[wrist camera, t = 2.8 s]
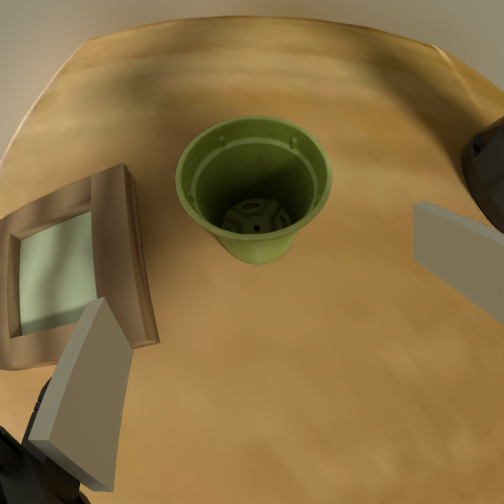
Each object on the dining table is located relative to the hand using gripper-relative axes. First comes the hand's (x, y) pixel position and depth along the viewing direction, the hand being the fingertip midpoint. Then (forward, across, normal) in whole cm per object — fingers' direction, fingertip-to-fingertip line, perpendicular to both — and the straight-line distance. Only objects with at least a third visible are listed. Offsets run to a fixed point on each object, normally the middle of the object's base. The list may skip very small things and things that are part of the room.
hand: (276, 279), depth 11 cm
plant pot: (+14, +1, -3) cm, 14 cm away
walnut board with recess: (+15, -18, -2) cm, 23 cm away
